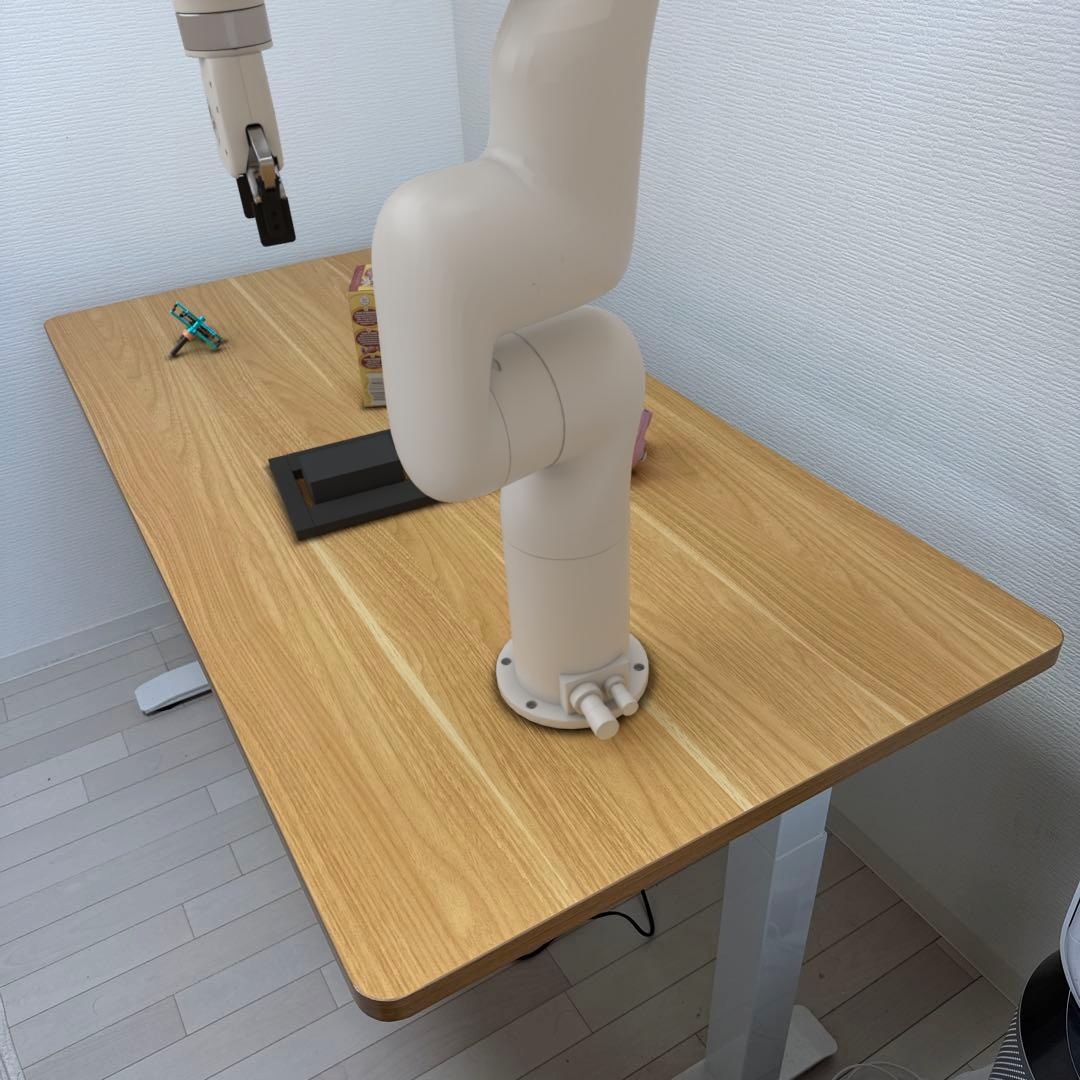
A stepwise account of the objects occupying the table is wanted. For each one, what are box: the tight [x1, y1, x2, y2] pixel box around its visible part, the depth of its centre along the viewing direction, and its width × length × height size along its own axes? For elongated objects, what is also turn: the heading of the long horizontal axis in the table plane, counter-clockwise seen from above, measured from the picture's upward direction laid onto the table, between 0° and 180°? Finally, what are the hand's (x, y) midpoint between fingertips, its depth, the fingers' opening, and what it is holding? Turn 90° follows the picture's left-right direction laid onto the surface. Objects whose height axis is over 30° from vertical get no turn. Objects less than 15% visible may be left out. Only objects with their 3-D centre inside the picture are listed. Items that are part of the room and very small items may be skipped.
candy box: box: [346, 263, 387, 408], centre depth 119 cm, size 9×4×15 cm, turn 2°
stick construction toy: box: [169, 301, 223, 357], centre depth 138 cm, size 12×7×8 cm
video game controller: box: [631, 408, 653, 470], centre depth 105 cm, size 10×5×7 cm, turn 168°
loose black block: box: [299, 435, 406, 505], centre depth 105 cm, size 6×10×3 cm, turn 113°
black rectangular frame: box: [267, 428, 442, 541], centre depth 107 cm, size 16×22×1 cm
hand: (269, 229), depth 93 cm, fingers open, 9 cm apart
